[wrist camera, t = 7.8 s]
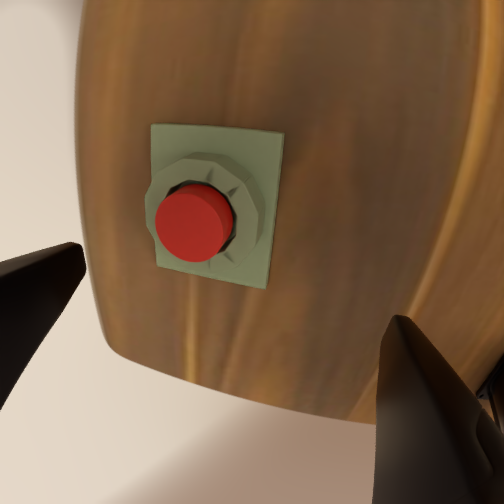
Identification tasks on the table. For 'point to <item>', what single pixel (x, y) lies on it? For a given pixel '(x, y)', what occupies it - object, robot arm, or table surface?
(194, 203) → the button
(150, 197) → the switch block
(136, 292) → the table surface
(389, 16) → the table surface
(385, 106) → the table surface
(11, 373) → the robot arm
